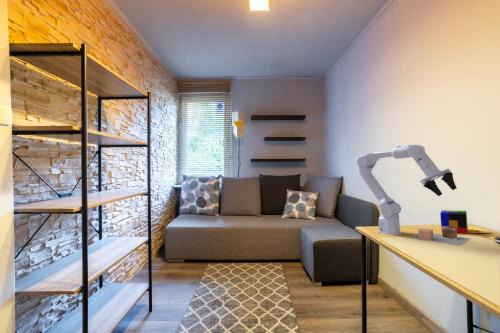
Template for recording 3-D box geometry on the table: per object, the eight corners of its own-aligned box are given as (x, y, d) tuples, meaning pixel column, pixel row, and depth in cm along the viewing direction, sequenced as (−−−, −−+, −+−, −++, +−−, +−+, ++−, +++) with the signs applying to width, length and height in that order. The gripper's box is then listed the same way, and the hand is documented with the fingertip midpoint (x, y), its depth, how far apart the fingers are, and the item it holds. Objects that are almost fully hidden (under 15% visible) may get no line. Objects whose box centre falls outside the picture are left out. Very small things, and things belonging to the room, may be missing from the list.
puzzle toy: (441, 232, 135) (440, 213, 135) (443, 228, 143) (442, 209, 142) (467, 235, 128) (465, 214, 128) (467, 230, 136) (466, 210, 136)
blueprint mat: (409, 238, 129) (409, 237, 129) (421, 232, 138) (421, 231, 138) (460, 246, 113) (460, 245, 113) (470, 239, 122) (470, 238, 122)
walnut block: (442, 237, 126) (442, 228, 126) (445, 235, 129) (445, 227, 129) (454, 239, 122) (453, 230, 122) (457, 236, 125) (456, 228, 125)
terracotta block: (419, 238, 127) (418, 230, 127) (422, 236, 129) (422, 228, 129) (429, 240, 123) (429, 231, 123) (433, 238, 126) (433, 229, 126)
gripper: (419, 168, 120) (439, 195, 114) (446, 157, 122) (467, 183, 116) (411, 174, 126) (429, 200, 120) (437, 164, 128) (456, 189, 122)
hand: (447, 192), depth 119 cm, fingers open, 7 cm apart
